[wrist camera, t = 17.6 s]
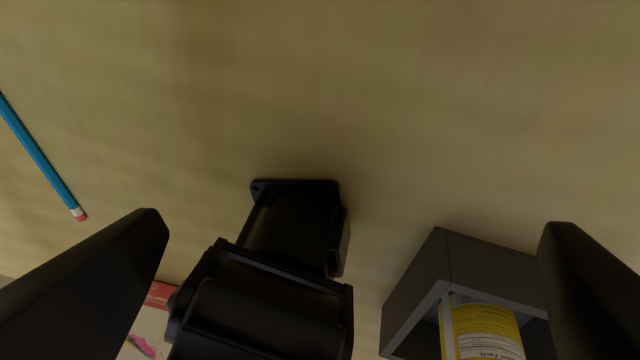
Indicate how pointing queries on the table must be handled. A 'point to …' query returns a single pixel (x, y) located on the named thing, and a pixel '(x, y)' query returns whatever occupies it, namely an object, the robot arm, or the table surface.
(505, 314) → the supplement bottle
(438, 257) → the bin
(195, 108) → the table surface
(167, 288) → the ink cartridge box
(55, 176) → the pencil
